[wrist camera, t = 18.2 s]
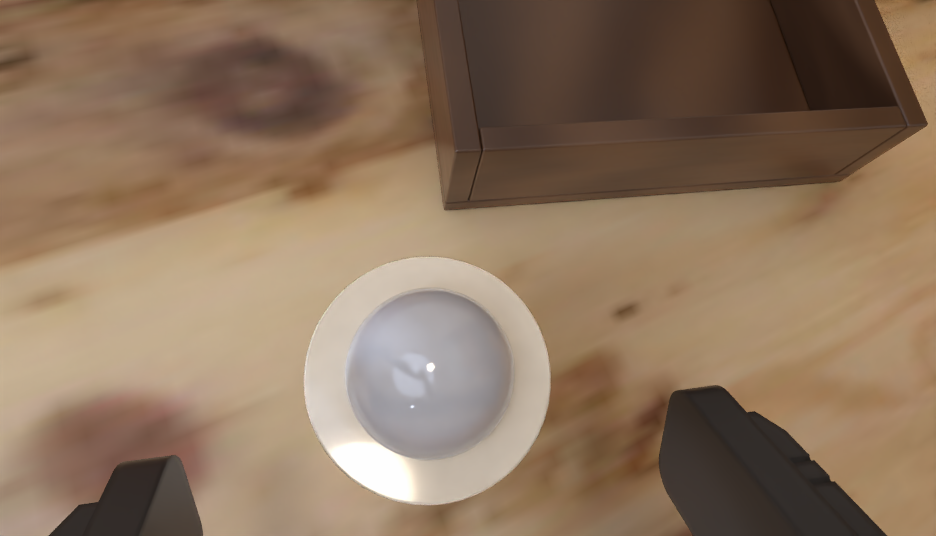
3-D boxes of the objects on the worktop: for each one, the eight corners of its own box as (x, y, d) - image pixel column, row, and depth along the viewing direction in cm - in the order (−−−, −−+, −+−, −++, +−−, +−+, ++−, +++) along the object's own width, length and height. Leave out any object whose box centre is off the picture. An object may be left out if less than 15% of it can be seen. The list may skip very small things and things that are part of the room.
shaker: (312, 410, 17) (224, 354, 8) (417, 312, 19) (438, 175, 10) (413, 520, 17) (434, 586, 8) (515, 411, 18) (631, 359, 9)
